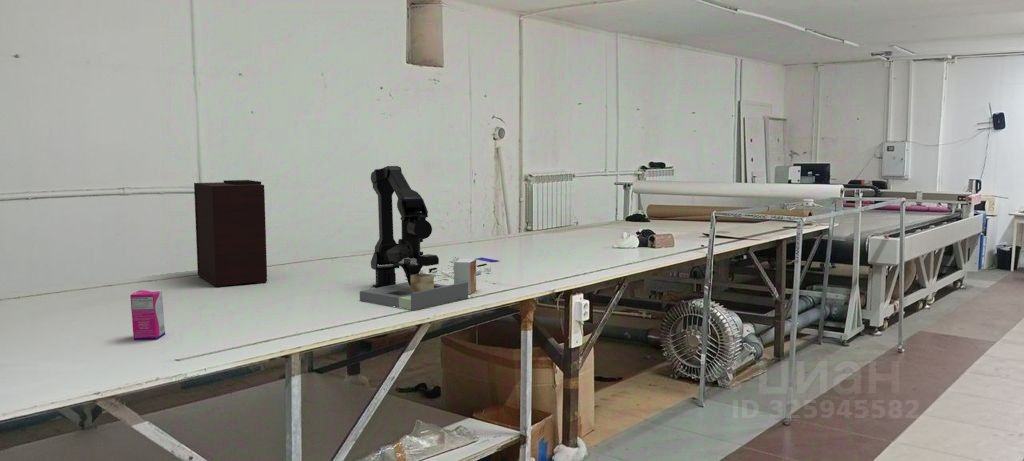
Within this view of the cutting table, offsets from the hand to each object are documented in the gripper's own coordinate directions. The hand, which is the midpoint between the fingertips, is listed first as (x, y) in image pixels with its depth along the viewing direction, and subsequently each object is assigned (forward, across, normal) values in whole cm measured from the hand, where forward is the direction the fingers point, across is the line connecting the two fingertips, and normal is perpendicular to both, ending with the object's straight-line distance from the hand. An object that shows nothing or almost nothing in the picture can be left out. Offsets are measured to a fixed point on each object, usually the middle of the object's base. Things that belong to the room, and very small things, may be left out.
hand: (411, 285), depth 239 cm
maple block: (+1, +5, 0) cm, 5 cm away
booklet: (+5, -37, +69) cm, 79 cm away
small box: (+4, +6, +19) cm, 20 cm away
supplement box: (+5, -16, -75) cm, 77 cm away
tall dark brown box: (+5, -74, -14) cm, 76 cm away
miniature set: (+5, -19, +40) cm, 45 cm away
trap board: (+4, +1, 0) cm, 4 cm away
